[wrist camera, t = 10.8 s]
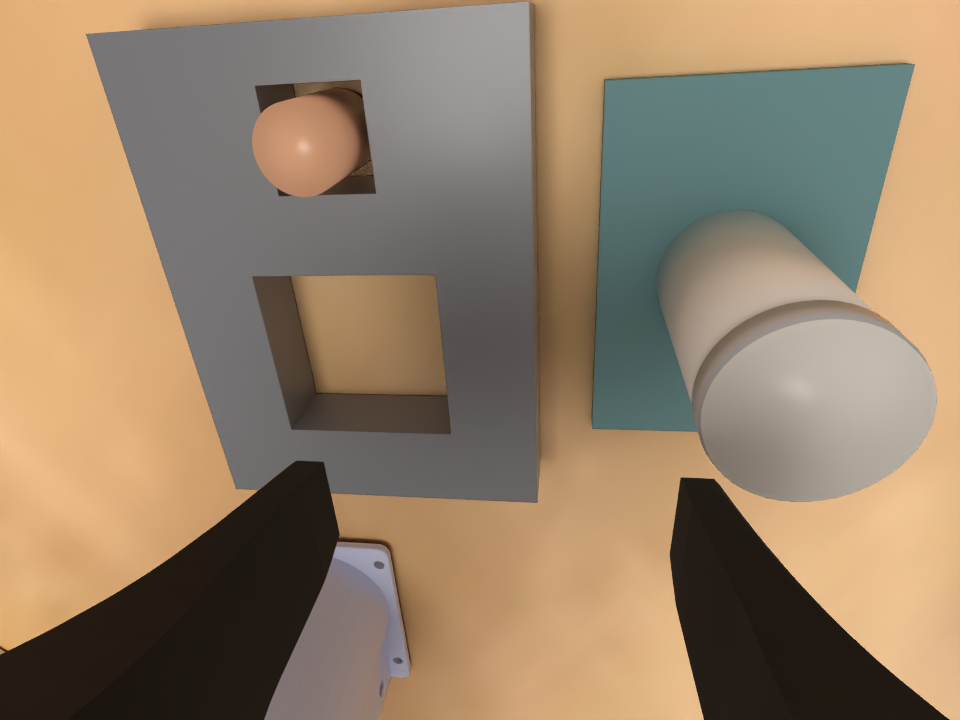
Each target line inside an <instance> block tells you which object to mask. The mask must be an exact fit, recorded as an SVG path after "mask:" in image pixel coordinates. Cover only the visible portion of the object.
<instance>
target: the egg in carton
mask: <svg viewBox="0 0 960 720" xmlns="http://www.w3.org/2000/svg"><path fill="white" fill-rule="evenodd" d="M252 147H253V153H254V156H255V159H256V162H257V164H258V166H259V168H260V170H261V171H262V173H263V174H264V176H265V177H266V178H267V179H268V180H269V181H270V182H271V183H272V184H273V185H274V186H275V187H277V188H278V189H280V190H281V191H283V192H285V193H287V194H290V195H293V196H297V197H312V196H316V195H319V194H321V193H323V192H324V191H326V190H328V189H329V188H331V187H332V186H333V185H335V184H336V183H338V182H339V181H341V180H342V179H344V178H345V177H347V176H348V175H350V174H351V173H353V172H354V171H356V170H357V169H359V168H360V167H361V166H363V165H364V164H366V163H367V162H368V161H369V160H370V159H371V152H370V145H369V138H368V131H367V124H366V117H365V110H364V102H363V99H362V98H361V97H360V96H359V95H357V94H356V93H354V92H352V91H350V90H346V89H342V88H331V89H326V90H323V91H319V92H315V93H311V94H308V95H304V96H300V97H296V98H293V99H289V100H285V101H281V102H278V103H275V104H273V105H271V106H269V107H268V108H266V109H265V110H264V111H263V112H262V113H261V114H260V116H259V117H258V119H257V121H256V123H255V126H254V129H253V134H252Z"/></svg>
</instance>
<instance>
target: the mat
mask: <svg viewBox="0 0 960 720" xmlns="http://www.w3.org/2000/svg"><path fill="white" fill-rule="evenodd" d="M914 66H915V64H907V63H902V64H883V65H865V66H846V67H827V68H809V69H790V70H772V71H753V72H735V73H716V74H697V75H679V76H660V77H642V78H623V79H605V82H604V108H603V135H602V162H601V188H600V215H599V242H598V268H597V295H596V322H595V348H594V375H593V402H592V429H620V430H656V431H692V432H698V430H697V427H696V424H695V420H694V416H693V412H692V404H691V400H690V397H689V394H688V391H687V388H686V385H685V382H684V378H683V375H682V372H681V369H680V366H679V363H678V360H677V356H676V353H675V350H674V347H673V344H672V341H671V338H670V335H669V331H668V328H667V325H666V322H665V319H664V316H663V313H662V309H661V306H660V303H659V300H658V296H657V291H656V276H657V270H658V267H659V263H660V261H661V258H662V256H663V254H664V252H665V251H666V249H667V247H668V246H669V244H670V243H671V242H672V241H673V240H674V238H675V237H676V236H677V235H678V234H679V233H680V232H681V231H683V230H684V229H685V228H687V227H688V226H689V225H691V224H692V223H694V222H696V221H697V220H699V219H701V218H703V217H706V216H708V215H711V214H714V213H717V212H722V211H727V210H750V211H755V212H759V213H762V214H765V215H768V216H770V217H772V218H774V219H775V220H777V221H778V222H780V223H781V224H782V225H783V226H784V227H785V228H786V229H788V230H789V231H790V232H791V233H792V234H793V235H794V236H795V237H796V238H797V239H798V240H799V241H800V242H801V243H802V244H803V245H804V246H806V247H807V248H808V249H809V250H810V251H811V252H812V253H813V254H814V255H815V256H816V257H817V258H818V259H819V260H820V261H821V262H822V263H823V264H825V265H826V266H827V267H828V268H829V269H830V270H831V271H832V272H833V273H834V274H835V275H836V276H837V277H838V278H839V279H840V280H841V281H843V282H844V283H845V284H846V285H847V286H848V287H849V288H850V289H851V290H852V291H853V292H854V293H855V292H856V288H857V284H858V280H859V276H860V272H861V269H862V265H863V261H864V257H865V253H866V249H867V246H868V242H869V238H870V234H871V230H872V226H873V223H874V219H875V215H876V211H877V207H878V203H879V200H880V196H881V192H882V188H883V184H884V180H885V177H886V173H887V169H888V165H889V161H890V157H891V154H892V150H893V146H894V142H895V138H896V134H897V131H898V127H899V123H900V119H901V115H902V111H903V108H904V104H905V100H906V96H907V92H908V89H909V85H910V81H911V77H912V73H913V69H914Z"/></svg>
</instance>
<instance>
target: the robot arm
mask: <svg viewBox="0 0 960 720" xmlns="http://www.w3.org/2000/svg"><path fill="white" fill-rule="evenodd" d="M339 535H340V534H339V529H338V525H337V520H336V516H335V511H334V506H333V502H332V497H331V493H330V488H329V483H328V479H327V474H326V470H325V465H324V462H319V461H297V460H296V461H295V462H294V463H292V464H291V465H290V466H288V467H287V468H286V469H284V470H283V471H282V472H281V473H279V474H278V475H277V476H276V477H274V478H273V479H272V480H271V481H269V482H268V483H267V484H266V485H265V486H263V487H262V488H261V489H260V490H258V491H257V492H256V493H255V494H254V495H252V496H251V497H250V498H249V499H247V500H246V501H245V502H244V503H242V504H241V505H240V506H239V507H237V508H236V509H235V510H234V511H232V512H231V513H230V514H229V515H227V516H226V517H225V518H224V519H222V520H221V521H220V522H219V523H217V524H216V525H215V526H213V527H212V528H211V529H209V530H208V531H207V532H205V533H204V534H202V535H201V536H200V537H198V538H197V539H196V540H194V541H193V542H192V543H190V544H189V545H188V546H186V547H185V548H183V549H182V550H181V551H179V552H178V553H177V554H175V555H174V556H173V557H171V558H170V559H168V560H167V561H165V562H164V563H162V564H161V565H160V566H158V567H156V568H155V569H153V570H152V571H150V572H149V573H147V574H146V575H144V576H143V577H141V578H140V579H138V580H136V581H135V582H133V583H132V584H130V585H128V586H127V587H125V588H124V589H122V590H120V591H119V592H117V593H116V594H114V595H112V596H111V597H109V598H107V599H105V600H104V601H102V602H100V603H98V604H96V605H95V606H93V607H91V608H89V609H87V610H86V611H84V612H82V613H80V614H78V615H77V616H75V617H73V618H71V619H69V620H68V621H66V622H64V623H62V624H60V625H59V626H57V627H55V628H53V629H51V630H49V631H47V632H45V633H43V634H41V635H39V636H37V637H35V638H33V639H31V640H29V641H27V642H25V643H23V644H21V645H19V646H17V647H15V648H13V649H11V650H9V651H7V652H5V653H2V654H0V720H379V717H380V714H381V710H382V706H383V703H384V699H385V695H386V692H387V688H388V685H389V681H390V677H396V678H405V677H408V676H409V674H410V670H411V665H410V660H409V654H408V649H407V643H406V638H405V632H404V627H403V621H402V616H401V610H400V605H399V599H398V594H397V588H396V583H395V577H394V572H393V566H392V561H391V555H390V551H389V549H388V548H387V547H386V546H384V545H381V544H371V543H354V542H337V541H338V538H339ZM379 561H380V562H379ZM670 561H671V569H672V578H673V586H674V593H675V601H676V607H677V611H678V615H679V620H680V624H681V628H682V632H683V636H684V640H685V644H686V648H687V653H688V657H689V661H690V665H691V669H692V673H693V677H694V681H695V685H696V689H697V693H698V697H699V701H700V705H701V709H702V713H703V717H704V720H949V719H948V718H946V717H945V716H944V715H943V714H941V713H940V712H939V711H938V710H936V709H935V708H934V707H933V706H931V705H930V704H929V703H928V702H927V701H925V700H924V699H923V698H922V697H920V696H919V695H918V694H917V693H916V692H914V691H913V690H912V689H911V688H909V687H908V686H907V685H906V684H904V683H903V682H902V681H901V680H900V679H898V678H897V677H896V676H895V675H894V674H892V673H891V672H890V671H889V670H888V669H887V668H886V667H884V666H883V665H882V664H881V663H880V662H879V661H877V660H876V659H875V658H874V657H873V656H872V655H871V654H870V653H869V652H868V651H866V650H865V649H864V648H863V647H862V646H861V645H860V644H859V643H858V642H857V641H856V640H855V639H853V638H852V637H851V636H850V635H849V634H848V633H847V632H846V631H845V630H844V629H843V628H842V627H841V626H840V625H839V624H838V623H837V622H836V621H835V620H834V619H833V618H832V617H831V616H830V615H829V614H828V613H827V612H826V611H825V610H824V609H823V608H822V607H821V606H820V605H819V604H818V603H817V602H816V601H815V600H814V598H813V597H812V596H811V595H810V594H809V593H808V592H807V591H806V590H805V589H804V588H803V587H802V586H801V585H800V584H799V582H798V581H797V580H796V579H795V578H794V577H793V576H792V575H791V574H790V572H789V571H788V570H787V569H786V568H785V567H784V565H783V564H782V563H781V562H780V561H779V560H778V558H777V557H776V556H775V555H774V554H773V553H772V551H771V550H770V549H769V548H768V547H767V546H766V544H765V543H764V542H763V541H762V539H761V538H760V537H759V536H758V535H757V533H756V532H755V531H754V530H753V528H752V527H751V526H750V524H749V523H748V522H747V521H746V519H745V518H744V517H743V516H742V514H741V513H740V512H739V510H738V509H737V508H736V506H735V505H734V504H733V502H732V501H731V500H730V498H729V497H728V496H727V494H726V493H725V492H724V490H723V489H722V488H721V486H720V485H719V484H718V483H717V482H716V481H715V480H714V479H703V478H681V480H680V487H679V494H678V501H677V508H676V515H675V522H674V529H673V536H672V543H671V550H670ZM381 562H382V563H381Z"/></svg>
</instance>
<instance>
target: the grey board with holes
mask: <svg viewBox="0 0 960 720" xmlns="http://www.w3.org/2000/svg"><path fill="white" fill-rule="evenodd" d="M86 36H87V39H88V42H89V45H90V48H91V51H92V54H93V57H94V60H95V63H96V66H97V69H98V72H99V75H100V78H101V81H102V84H103V87H104V90H105V93H106V96H107V99H108V102H109V105H110V108H111V111H112V114H113V117H114V120H115V123H116V126H117V130H118V133H119V136H120V139H121V142H122V145H123V148H124V151H125V154H126V157H127V160H128V163H129V166H130V169H131V172H132V175H133V178H134V181H135V184H136V187H137V190H138V193H139V196H140V199H141V202H142V205H143V208H144V211H145V214H146V217H147V220H148V223H149V226H150V229H151V233H152V236H153V239H154V242H155V245H156V248H157V251H158V254H159V257H160V260H161V263H162V266H163V269H164V272H165V275H166V278H167V281H168V284H169V287H170V290H171V293H172V296H173V299H174V302H175V305H176V308H177V311H178V314H179V317H180V320H181V323H182V326H183V329H184V332H185V335H186V339H187V342H188V345H189V348H190V351H191V354H192V357H193V360H194V363H195V366H196V369H197V372H198V375H199V378H200V381H201V384H202V387H203V390H204V393H205V396H206V399H207V402H208V405H209V408H210V411H211V414H212V417H213V420H214V423H215V426H216V429H217V432H218V435H219V438H220V442H221V445H222V448H223V451H224V454H225V457H226V460H227V463H228V466H229V469H230V472H231V475H232V478H233V481H234V484H235V487H236V489H248V490H260V489H261V488H262V487H263V486H265V485H266V484H267V483H268V482H269V481H271V480H272V479H273V478H274V477H276V476H277V475H278V474H279V473H281V472H282V471H283V470H284V469H286V468H287V467H288V466H290V465H291V464H292V463H294V462H295V461H296V460H297V461H319V462H324V465H325V470H326V474H327V479H328V483H329V488H330V493H335V494H357V495H378V496H400V497H422V498H444V499H465V500H487V501H509V502H531V503H537V501H538V487H539V472H540V396H539V320H538V243H537V167H536V90H535V14H534V4H533V3H531V2H516V3H502V4H488V5H475V6H461V7H447V8H434V9H420V10H407V11H393V12H379V13H366V14H352V15H338V16H325V17H311V18H298V19H284V20H270V21H257V22H243V23H229V24H216V25H202V26H189V27H175V28H161V29H148V30H134V31H120V32H107V33H93V34H86ZM346 80H360V81H361V88H362V95H363V102H364V110H365V117H366V124H367V131H368V138H369V145H370V152H371V159H372V166H373V173H374V176H350V177H345V178H344V179H342V180H341V181H339V182H338V183H336V184H335V185H333V186H332V187H331V188H329V189H328V190H326V191H324V192H323V193H321V194H319V195H316V196H312V197H297V196H293V195H290V194H287V193H285V192H283V191H281V190H280V189H278V188H277V187H275V186H274V185H273V184H272V183H271V182H270V181H269V180H268V179H267V178H266V177H265V176H264V174H263V173H262V171H261V170H260V168H259V166H258V164H257V162H256V159H255V156H254V153H253V147H252V134H253V129H254V126H255V123H256V121H257V119H258V117H259V116H260V114H261V113H262V112H263V111H264V110H265V109H266V108H268V107H269V106H271V105H273V104H275V103H278V102H281V101H285V100H289V99H293V98H295V94H294V89H293V84H294V83H311V82H329V81H346ZM342 275H435V277H436V287H437V297H438V307H439V317H440V327H441V337H442V347H443V357H444V367H445V377H446V387H447V396H411V395H364V394H316V390H315V386H314V381H313V377H312V373H311V368H310V364H309V359H308V355H307V350H306V346H305V341H304V337H303V332H302V328H301V324H300V319H299V315H298V310H297V306H296V301H295V297H294V292H293V288H292V283H291V279H290V276H342Z"/></svg>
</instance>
